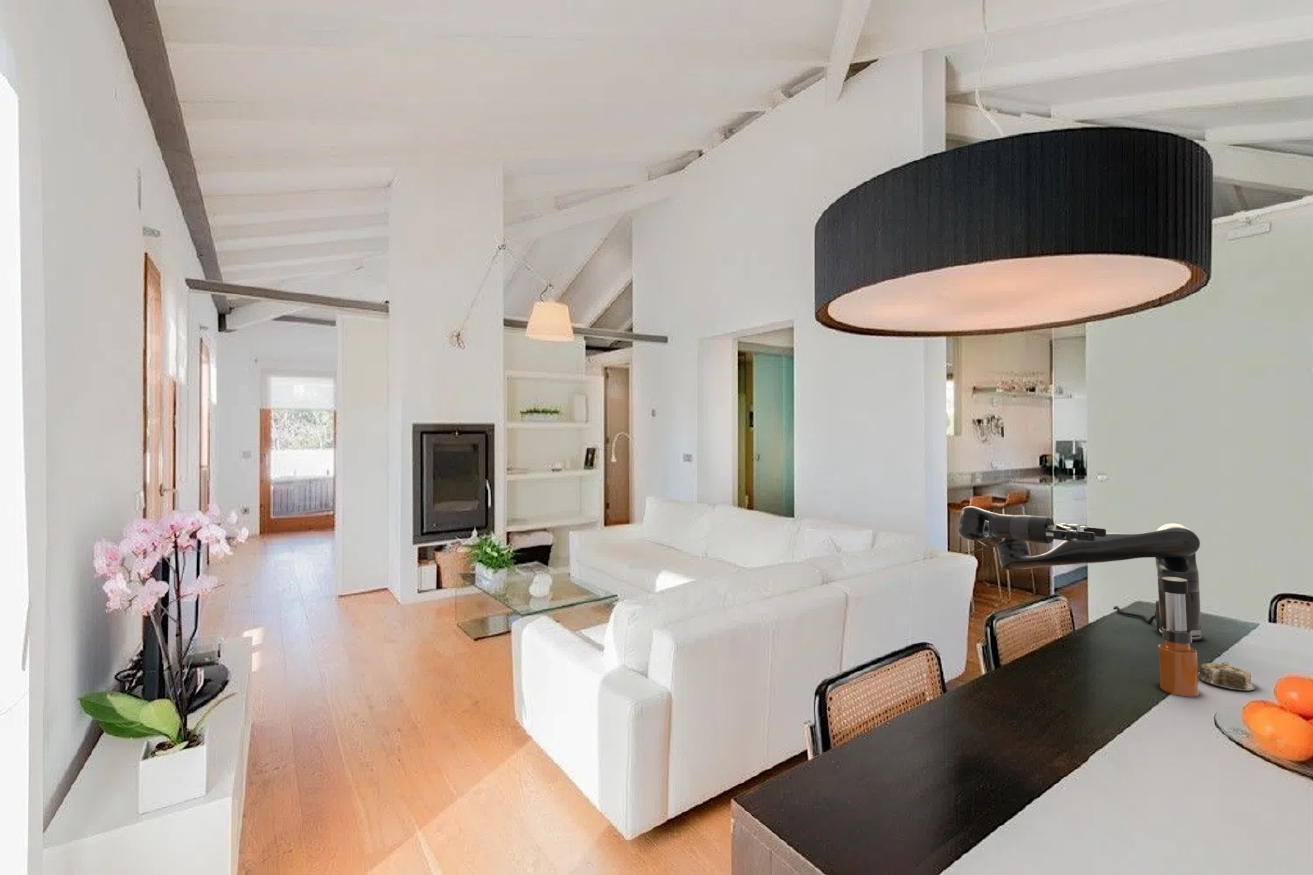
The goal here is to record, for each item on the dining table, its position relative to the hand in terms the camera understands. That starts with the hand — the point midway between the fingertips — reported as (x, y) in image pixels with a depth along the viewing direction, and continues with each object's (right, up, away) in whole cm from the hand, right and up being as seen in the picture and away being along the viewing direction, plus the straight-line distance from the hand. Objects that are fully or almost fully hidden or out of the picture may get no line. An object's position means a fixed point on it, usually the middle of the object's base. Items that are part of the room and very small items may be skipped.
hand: (1100, 534), depth 151 cm
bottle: (+8, -35, -15) cm, 38 cm away
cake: (+21, -34, -12) cm, 42 cm away
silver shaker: (+7, -20, -14) cm, 26 cm away
